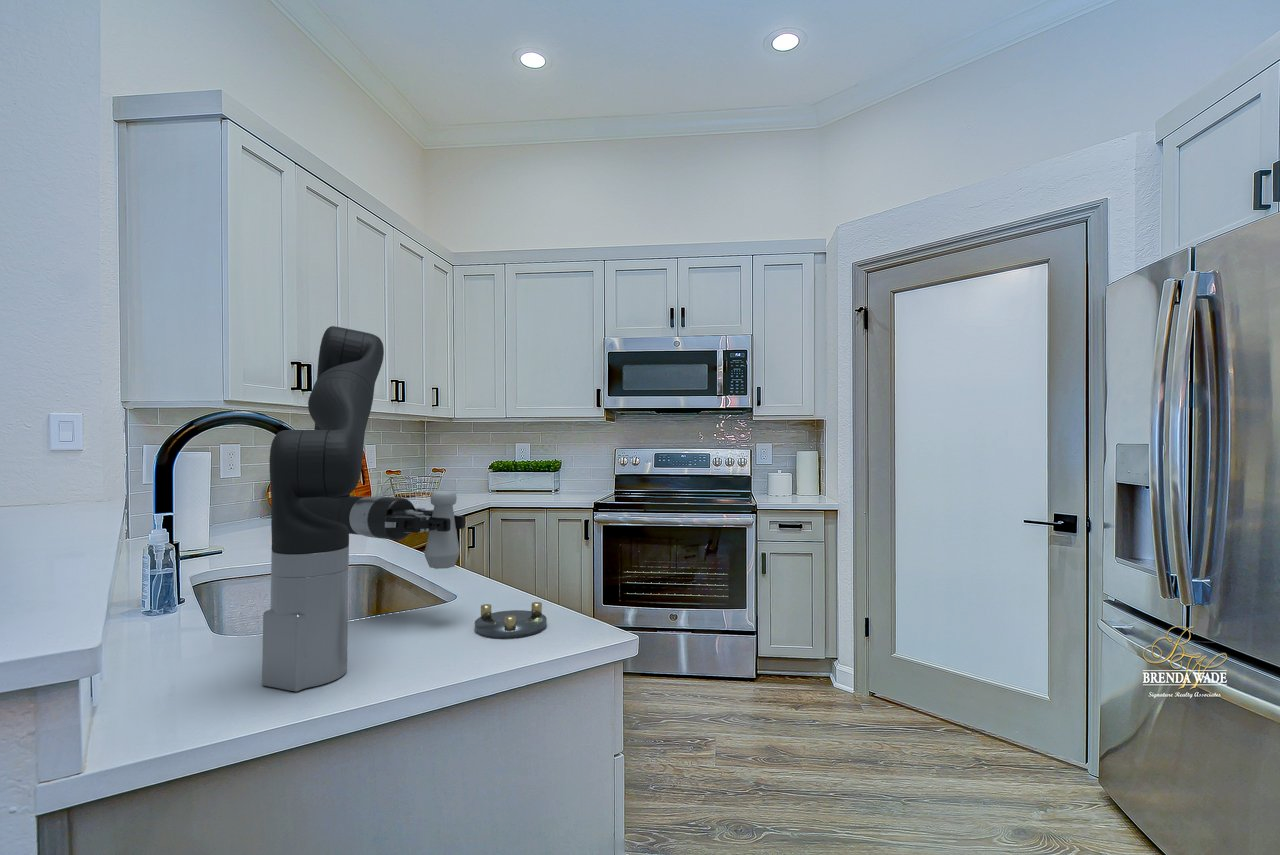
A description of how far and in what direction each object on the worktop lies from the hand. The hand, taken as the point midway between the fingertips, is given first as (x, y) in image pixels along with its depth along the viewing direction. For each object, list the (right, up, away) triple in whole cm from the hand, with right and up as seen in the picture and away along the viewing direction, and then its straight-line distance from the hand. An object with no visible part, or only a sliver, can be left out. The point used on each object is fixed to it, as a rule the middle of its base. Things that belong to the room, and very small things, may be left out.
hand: (456, 523), depth 103 cm
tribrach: (+9, -18, 0) cm, 20 cm away
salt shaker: (-3, -8, +1) cm, 8 cm away
